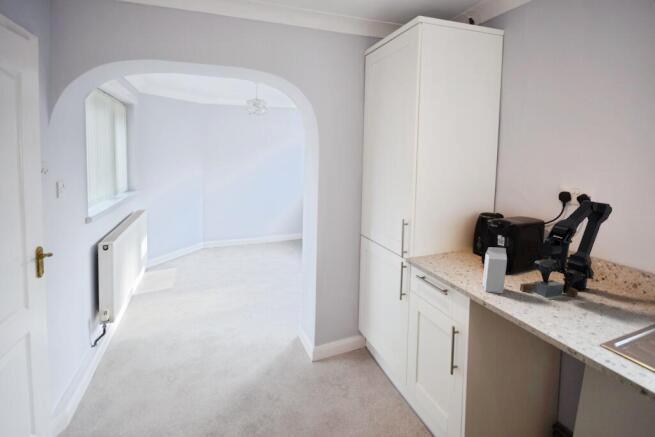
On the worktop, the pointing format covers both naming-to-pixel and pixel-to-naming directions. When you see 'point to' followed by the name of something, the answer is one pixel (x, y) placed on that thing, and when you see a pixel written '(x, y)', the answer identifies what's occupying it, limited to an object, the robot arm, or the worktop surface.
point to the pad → (550, 297)
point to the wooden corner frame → (530, 286)
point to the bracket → (548, 288)
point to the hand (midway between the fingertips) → (554, 289)
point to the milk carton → (494, 270)
